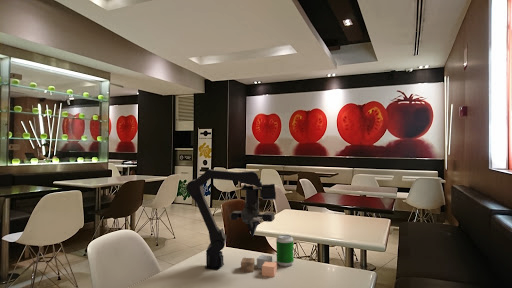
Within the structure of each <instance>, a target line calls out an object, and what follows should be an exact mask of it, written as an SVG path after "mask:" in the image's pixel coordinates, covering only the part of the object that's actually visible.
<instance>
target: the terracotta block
mask: <svg viewBox="0 0 512 288" xmlns="http://www.w3.org/2000/svg"><path fill="white" fill-rule="evenodd" d="M277 273H278V263H277V261H276V262H275V261H272V262H266V261H265V262H264V264H263V265H262V268H261V276H263V277H271V278H275V276H276V275H277Z"/></svg>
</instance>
